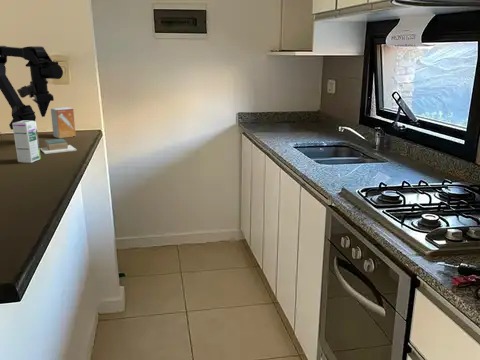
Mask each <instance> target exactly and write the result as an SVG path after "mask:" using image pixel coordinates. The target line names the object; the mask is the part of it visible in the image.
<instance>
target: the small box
mask: <svg viewBox="0 0 480 360" xmlns="http://www.w3.org/2000/svg"><path fill="white" fill-rule="evenodd" d="M50 116H51V122H52V123H51V124H52V133H53V137H54V138H55V139H62V138H63V139H64V138H66V139H67V138H73V136H75V137H76V136H77V135H76V124H75V122H76V121H75V112H74V108H73V107H69V106H68V107H66V106H65V107H56V108H50Z"/></svg>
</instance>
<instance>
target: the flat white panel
mask: <svg viewBox="0 0 480 360" xmlns="http://www.w3.org/2000/svg"><path fill="white" fill-rule="evenodd" d="M67 145H68V149H59V150H48V149H47V148H46V146H44V147H39V148H40V152H42V153H43V154H44V155H47V154H48V155H49V154H58V153H66V152H67V153H68V152H76V151H77V148H76V147H74V146H72V144H67Z"/></svg>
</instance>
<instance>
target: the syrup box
mask: <svg viewBox="0 0 480 360" xmlns="http://www.w3.org/2000/svg"><path fill="white" fill-rule="evenodd" d="M12 125H13V138H14V145H15V150H16V156H17V157H16V158H17V162H18V163H24V164H26V163H27V164H28V163H34V162H36V161H39V160H41V159H42V157H41V150H40V148H41V147H40V141H39V134H38V127H37V125H38V124H37V122H36V120H35V121H32V120H25V121H20V122H16V123H12Z"/></svg>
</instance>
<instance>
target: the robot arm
mask: <svg viewBox="0 0 480 360" xmlns="http://www.w3.org/2000/svg"><path fill="white" fill-rule="evenodd" d="M8 57H15V58H21V59H24V60H26V61H28V62H27V63H26V64H25V68H29V70H30V79H31V80H30V81H29V84H28V85H24V86H21V88H18V89H15V87H14V86H13V85H12V83H11V81H10V80H9V78H8V76H7V75H6V74H7V68H6V64H7V62H8ZM63 75H64V70H63V68H62V67H61V65H59V61H52V58H51V57H50V55H49V54H48V53H47V51H46V48H45V47H44V46H40V45H38V46H37V45H35V46H24V47H19V46H18V47H17V46H6V45H0V92H1V94H2V95H3V96H4V98H5V100H6V101H7V104H9V107H10V108H11V117H12V120H11V121H10V122H9V128H10V130H11V131H12V130H13V125H12V123H16V122H20V121H25V120H32V121H36V118H37V117H36V112H35V111H34V110H33V108H32V106H31V105H30V104H24V103H23V101H22V99H25V98H26V97H27V96H29V99H30V98H31V99H32V101H33V102H34V103H36V105H37V107H38V110H39V112H40V113H39V114H40V115H41V117H42V118H43V117H46V114H47V111H48V109H49V106H50V102H52V101H55V99H54V95H53V94H52V93H50V90H48V84H49V80H60V79H61V78H63ZM48 79H49V80H48ZM16 90H17V91H16ZM21 98H22V99H21Z"/></svg>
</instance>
